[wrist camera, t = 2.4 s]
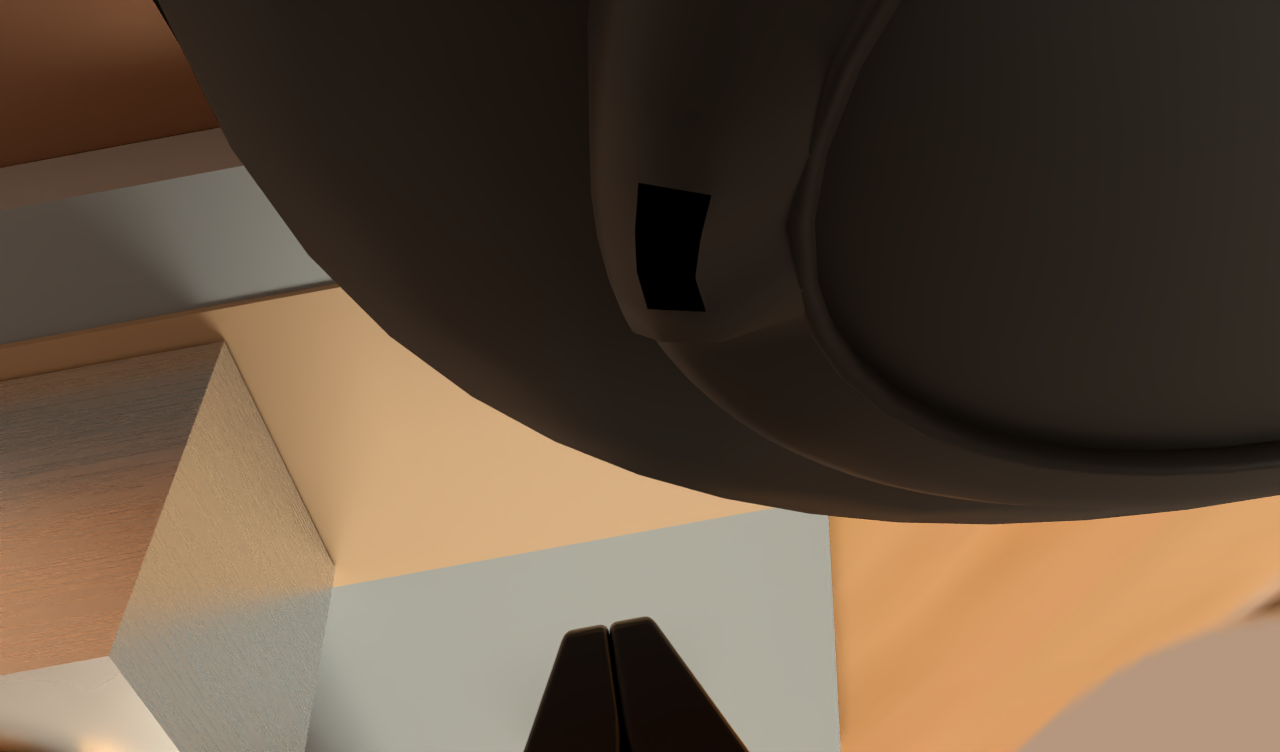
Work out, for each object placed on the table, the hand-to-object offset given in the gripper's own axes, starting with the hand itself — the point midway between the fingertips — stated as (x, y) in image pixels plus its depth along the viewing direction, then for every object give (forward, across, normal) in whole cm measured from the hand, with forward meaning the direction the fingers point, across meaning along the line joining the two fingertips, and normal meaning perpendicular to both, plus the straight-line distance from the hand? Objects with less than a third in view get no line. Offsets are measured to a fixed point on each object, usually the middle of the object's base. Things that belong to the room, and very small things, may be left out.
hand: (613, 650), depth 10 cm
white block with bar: (+4, +6, +4) cm, 8 cm away
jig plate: (+6, +8, +4) cm, 10 cm away
